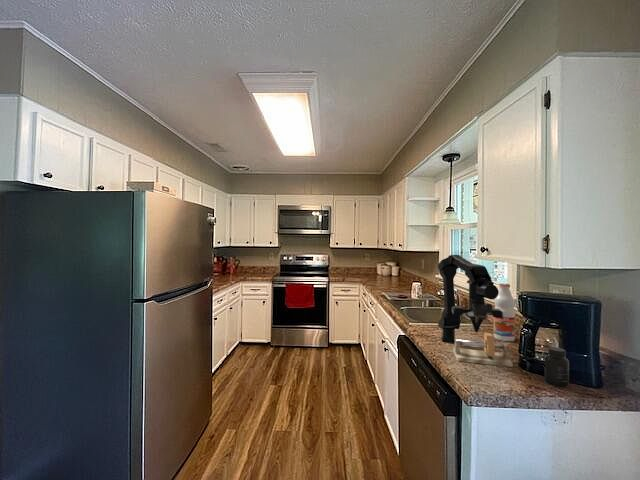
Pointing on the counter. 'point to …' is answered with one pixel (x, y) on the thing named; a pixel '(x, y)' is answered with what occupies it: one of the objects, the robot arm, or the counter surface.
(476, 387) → the counter surface
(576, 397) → the counter surface
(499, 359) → the stand
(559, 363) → the supplement bottle
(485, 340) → the slotted orange block
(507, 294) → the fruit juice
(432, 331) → the counter surface
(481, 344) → the pipe
